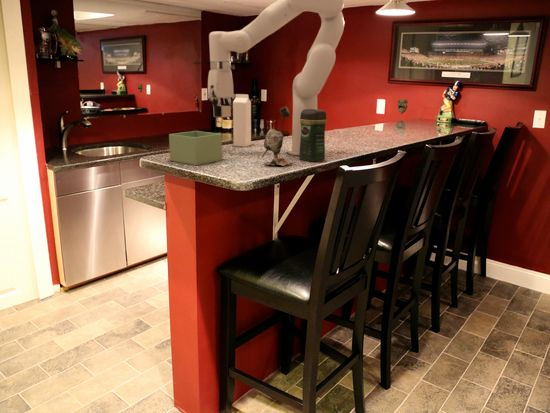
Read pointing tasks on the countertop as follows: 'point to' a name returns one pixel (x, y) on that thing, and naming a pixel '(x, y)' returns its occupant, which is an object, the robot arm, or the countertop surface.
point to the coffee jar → (312, 135)
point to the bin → (195, 147)
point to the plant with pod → (276, 141)
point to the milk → (242, 120)
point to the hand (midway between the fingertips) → (222, 115)
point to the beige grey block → (225, 111)
